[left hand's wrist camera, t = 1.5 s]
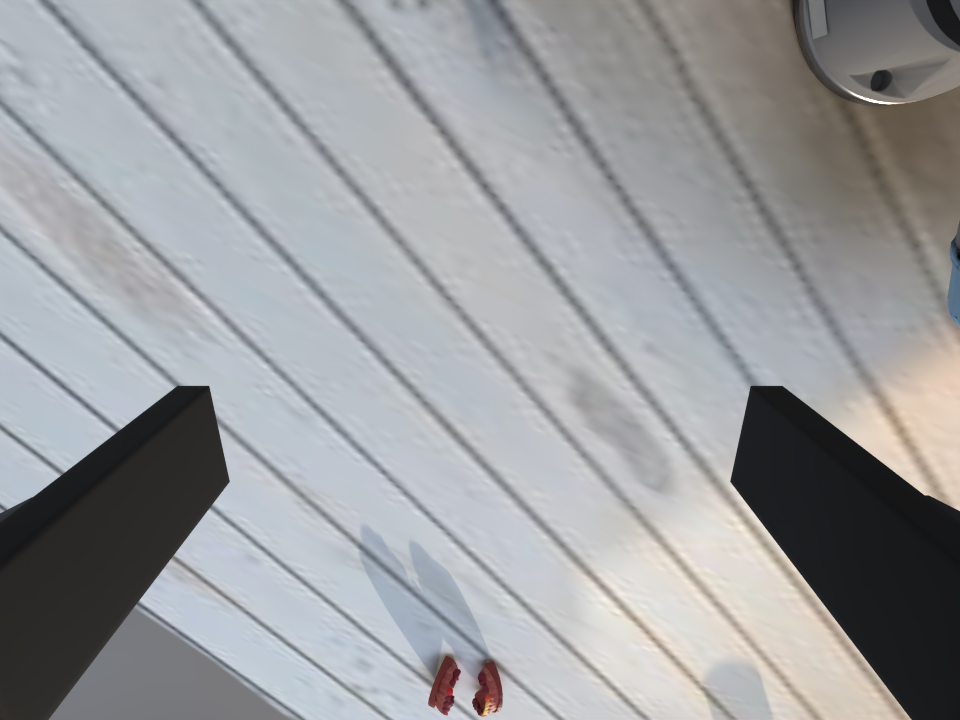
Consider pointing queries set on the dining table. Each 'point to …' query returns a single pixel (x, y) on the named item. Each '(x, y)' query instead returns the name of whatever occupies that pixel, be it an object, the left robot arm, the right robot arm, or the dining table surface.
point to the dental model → (484, 699)
